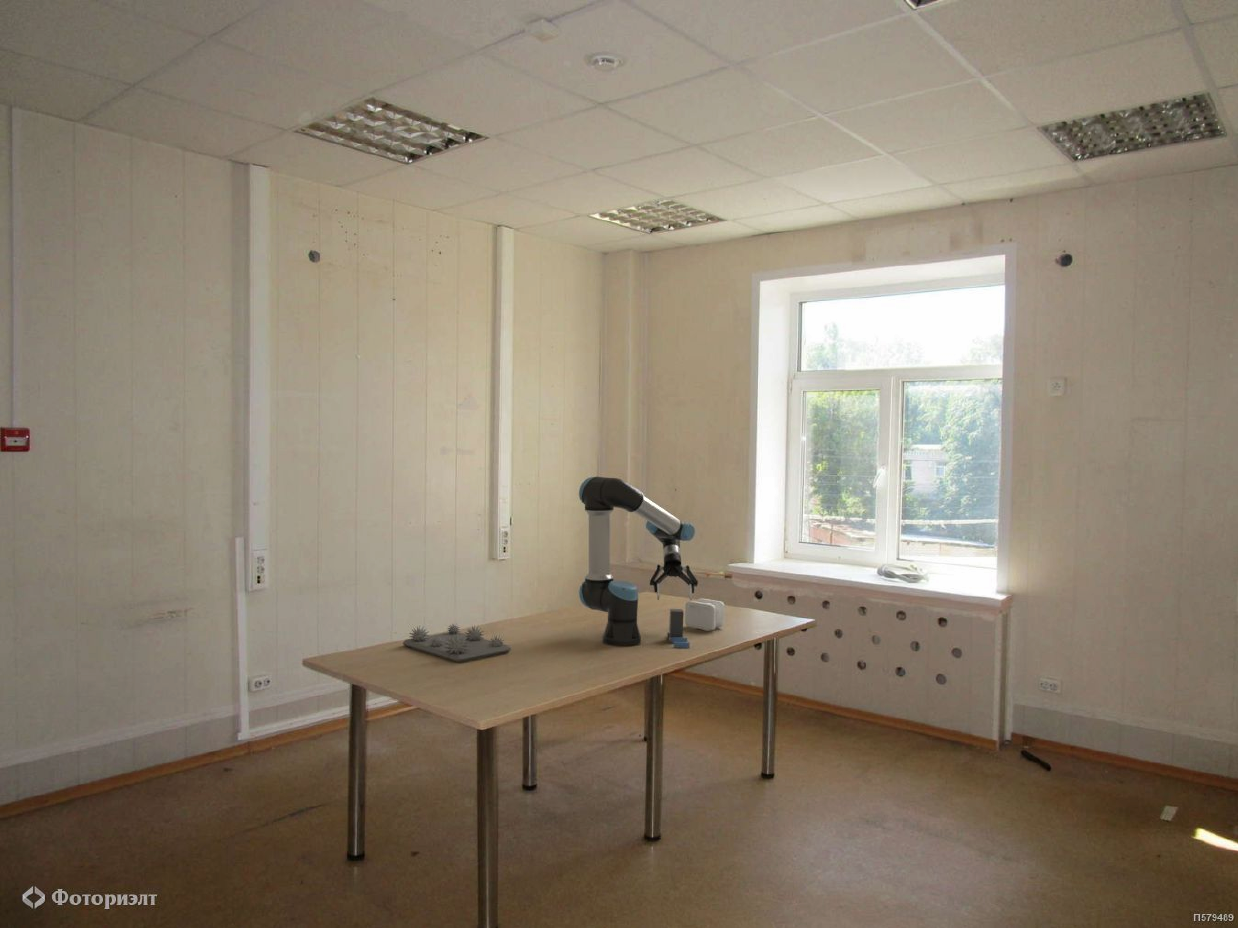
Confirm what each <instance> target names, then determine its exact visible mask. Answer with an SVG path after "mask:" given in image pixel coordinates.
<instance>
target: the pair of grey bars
mask: <svg viewBox="0 0 1238 928" xmlns="http://www.w3.org/2000/svg"><path fill="white" fill-rule="evenodd" d="M666 638H668V642H669V643H672V637H669V631H668V632H667V637H666ZM676 638H685V637H684V636H683V637H676Z"/></svg>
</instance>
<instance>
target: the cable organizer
mask: <svg viewBox="0 0 1238 928" xmlns="http://www.w3.org/2000/svg"><path fill="white" fill-rule="evenodd" d="M684 608H685V609H684V610H685V611H684V612H685V613H684V623H685V625H686V627H689V628H690V629H695V630H696V629H698V630H702V631H705V632H710V631H714V630H715V629H719V628H723V627H724V626H725V613H726V612H725V611H726V610H725V608H726V605H725V604H724V602H723V601H720V600H713V599H708V598H698V599H696V601H695V600H694V601H693V600H692V601H690V600H689V601H687V602H686V603H685V606H684Z"/></svg>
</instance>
